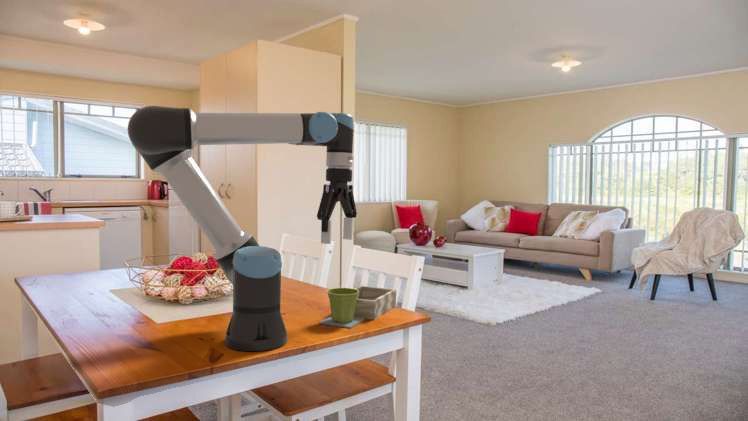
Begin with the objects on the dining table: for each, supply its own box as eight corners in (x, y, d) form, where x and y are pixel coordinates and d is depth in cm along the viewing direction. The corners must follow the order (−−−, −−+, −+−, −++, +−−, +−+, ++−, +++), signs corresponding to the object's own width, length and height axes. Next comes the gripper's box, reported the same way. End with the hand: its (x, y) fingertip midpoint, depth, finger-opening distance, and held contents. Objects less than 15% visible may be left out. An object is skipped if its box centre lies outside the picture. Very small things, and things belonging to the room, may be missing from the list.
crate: (374, 319, 156) (375, 301, 156) (335, 314, 161) (335, 296, 161) (395, 306, 174) (396, 289, 174) (359, 301, 179) (360, 285, 179)
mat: (350, 328, 147) (350, 326, 147) (318, 323, 150) (318, 322, 150) (364, 319, 156) (364, 318, 156) (334, 315, 160) (334, 314, 160)
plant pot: (329, 325, 147) (329, 295, 147) (323, 317, 156) (324, 288, 156) (361, 324, 150) (362, 293, 149) (354, 315, 159) (354, 287, 158)
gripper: (330, 166, 139) (327, 246, 140) (368, 169, 162) (366, 238, 163) (305, 166, 142) (303, 244, 143) (346, 169, 165) (345, 236, 166)
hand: (337, 241), depth 153 cm, fingers open, 13 cm apart
